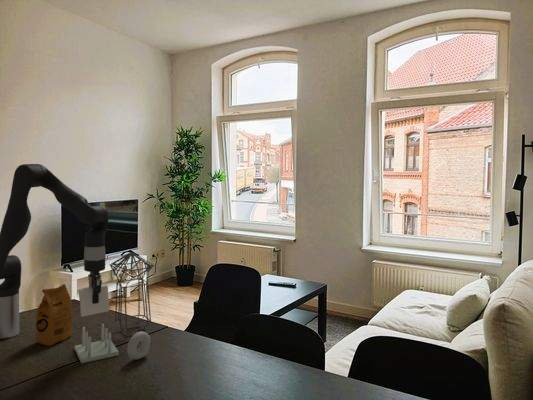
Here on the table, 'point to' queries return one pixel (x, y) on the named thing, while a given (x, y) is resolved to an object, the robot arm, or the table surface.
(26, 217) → the robot arm
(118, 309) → the geometric lantern
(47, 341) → the coffee package
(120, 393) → the table surface
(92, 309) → the off-white rectangular prism
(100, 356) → the dish rack
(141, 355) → the donut
